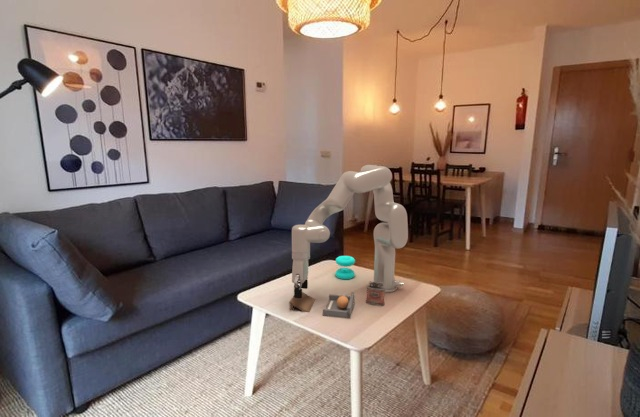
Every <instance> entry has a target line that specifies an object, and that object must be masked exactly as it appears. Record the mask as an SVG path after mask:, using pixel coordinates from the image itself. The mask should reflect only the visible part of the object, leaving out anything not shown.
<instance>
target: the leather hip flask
mask: <svg viewBox="0 0 640 417" xmlns="http://www.w3.org/2000/svg"><path fill="white" fill-rule="evenodd" d="M373 281H374V280H373ZM373 281H369V282H368V285H366V286H365V287H366V298H365V299H366V300H365V303H366V304H367V305H372V306H377V307H378V306H379V307H384V306H385V288H384V287H381V286H384V283H381V282H377V281H374V282H373Z"/></svg>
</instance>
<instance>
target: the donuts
mask: <svg viewBox="0 0 640 417" xmlns="http://www.w3.org/2000/svg"><path fill="white" fill-rule="evenodd" d="M335 263H336V264H337V265H338V266H341V267H340V268H338V269H337V270H336V271H335V277H337V278H338V279H341V280H350V279H352V278H354V277H355V276H356V275H355V274H356V272H355V271H354V270H353V269H352V268H349V267H351V266H353V265H355V263H356V259H355V258H354V257H353V256H351V255H339V256H338V257H336V258H335Z"/></svg>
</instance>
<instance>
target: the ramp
mask: <svg viewBox="0 0 640 417" xmlns="http://www.w3.org/2000/svg"><path fill="white" fill-rule="evenodd" d="M315 302H316V298H314V297H311V296H310V295H308V294H306V293H305V292H303V291H302V298H294V295H293V296H292V298H291V299H290V300H289V302H288V303H289V311H294V310H295V308H296V309H298V310H300V311H302V312H303V313H310V312H311V311H312V308H313V307H314V304H315Z"/></svg>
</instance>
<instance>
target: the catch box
mask: <svg viewBox="0 0 640 417" xmlns="http://www.w3.org/2000/svg"><path fill="white" fill-rule="evenodd" d="M340 296H345V297H347V298H348V300H349V304H348V306H347V307H346V308H340V307H339V306H338V305H337V299H338V298H339V297H340ZM354 304H355V292H351V295H342V294H341V295H339V294H330V293H329V295H328V302H327V304H326V307H324V308H322V316H323V317H330V318H331V317H332V318H342V319H348V320H349V319H351V317H352V312H353V308H354Z"/></svg>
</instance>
